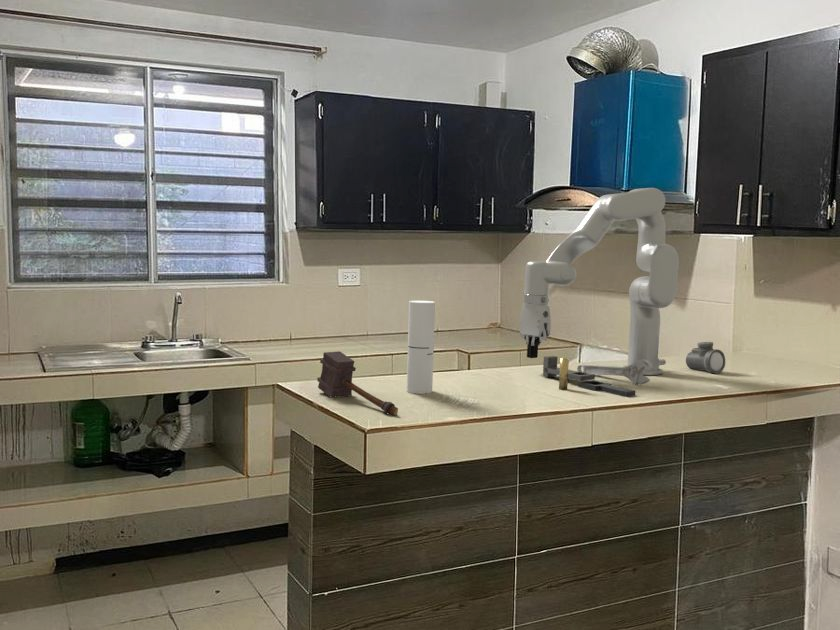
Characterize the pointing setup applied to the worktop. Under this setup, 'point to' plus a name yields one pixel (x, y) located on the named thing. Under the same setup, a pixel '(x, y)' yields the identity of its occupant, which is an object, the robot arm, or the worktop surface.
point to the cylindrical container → (420, 346)
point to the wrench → (621, 371)
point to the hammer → (345, 380)
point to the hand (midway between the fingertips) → (532, 357)
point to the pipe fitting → (706, 358)
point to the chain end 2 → (606, 388)
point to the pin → (563, 373)
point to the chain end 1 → (552, 370)
